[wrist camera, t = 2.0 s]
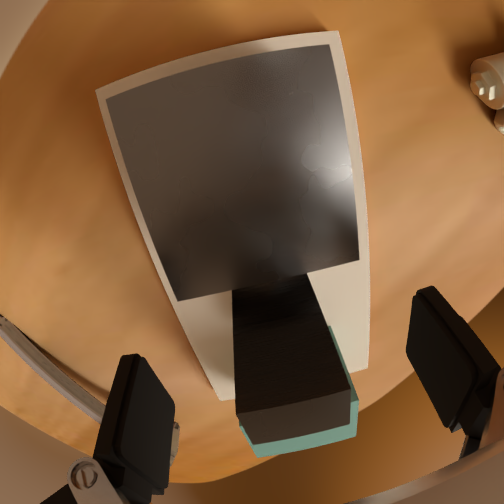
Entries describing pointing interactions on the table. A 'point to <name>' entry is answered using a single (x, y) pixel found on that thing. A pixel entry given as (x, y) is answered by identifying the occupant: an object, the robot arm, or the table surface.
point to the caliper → (61, 377)
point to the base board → (323, 281)
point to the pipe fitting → (490, 84)
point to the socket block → (315, 438)
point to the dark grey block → (241, 169)
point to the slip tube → (286, 363)
